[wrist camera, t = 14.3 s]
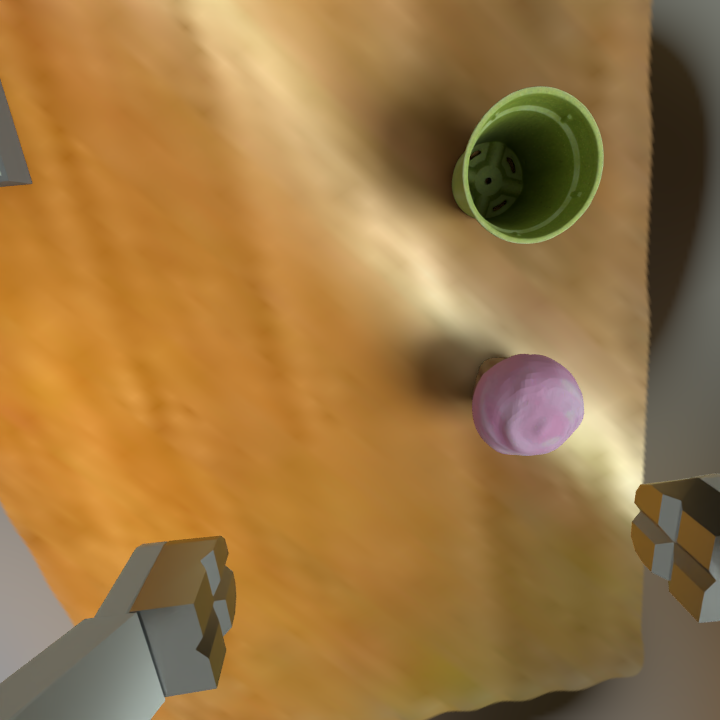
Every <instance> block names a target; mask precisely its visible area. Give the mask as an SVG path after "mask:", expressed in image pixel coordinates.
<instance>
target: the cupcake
mask: <svg viewBox="0 0 720 720" xmlns="http://www.w3.org/2000/svg"><path fill="white" fill-rule="evenodd" d="M472 400H473V401H472V412H473V420H474V424H475V427H476V429H477V431H478V433H479V435H480V436H481V438H482V439H483V440H484V441H485V442H486V443H487V444H488V445H489V446H490V447H492V448H493V449H494V450H496V451H498V452H500V453H503V454H511V455H524V456H529V455H540V454H545V453H549V452H551V451H553V450H555V449H556V448H558V447H559V446H560V445H562V444H563V443H564V442H565V441H566V440H567V439H568V438H569V437H570V436H571V434H572V433H573V432H574V431H575V430H576V429H577V428H578V426H579V425H580V423H581V422H582V419H583V415H584V403H583V396H582V393H581V391H580V389H579V386H578V384H577V382H576V380H575V378H574V377H573V376H572V374H571V373H570V372H569V371H568V370H567V369H566V368H565V367H563V366H562V365H561V364H559V363H557V362H556V361H554V360H552V359H551V358H548V357H546V356H542V355H535V354H534V355H529V354H519V355H514V356H511V357H509V358H491V359H488V360H486V361H485V362H483V363H482V365H481V366H480V368H479V372H478V375H477V378H476V382H475V385H474V388H473V396H472Z"/></svg>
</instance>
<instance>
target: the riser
mask: <svg viewBox="0 0 720 720" xmlns="http://www.w3.org/2000/svg"><path fill="white" fill-rule="evenodd" d="M25 184H32V181H31V177H30V174H29V171H28V168H27V164H26V161H25V158H24V155H23V152H22V148H21V145H20V142H19V139H18V135H17V132H16V129H15V126H14V122H13V119H12V116H11V113H10V110H9V106H8V103H7V100H6V97H5V93H4V90H3V87H2V84H1V80H0V187H4V186H14V185H25Z"/></svg>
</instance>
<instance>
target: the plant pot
mask: <svg viewBox="0 0 720 720" xmlns="http://www.w3.org/2000/svg"><path fill="white" fill-rule="evenodd" d="M477 150H478V151H481V154H479V155H477V156H475V157H474V158H473V159H471V160H470V161H469V159H470V155H471V154H473V153H474V152H475V151H477ZM603 155H604V154H603V144H602V139H601V135H600V132H599V129H598V127H597V124H596V122H595V120H594V118H593V117H592V115H591V113H590V112H589V111H588V109H587V108H586V107H585V106H584V105H583V104H582V103H581V102H580V101H578V100H577V99H576V98H575V97H573V96H572V95H570V94H568V93H566V92H564V91H561V90H559V89H556V88H551V87H542V86H538V87H530V88H525V89H521V90H518V91H516V92H514V93H512V94H510V95H508V96H506V97H504V98H503V99H501V100H500V101H499V102H497V103H496V104H495V105H494V106H493V107H491V108H490V109H489V110H488V111H487V112H486V114H485V115H484V116H483V117H482V118H481V120H480V121H479V123H478V124H477V126H476V127H475V129H474V131H473V132H472V134H471V137H470V139H469V141H468V144H467V147H466V150H465V152H464V153H463V154H462V155H461V157H460V158H459V160H458V161H457V163H456V166H455V169H454V172H453V177H452V192H453V195H454V198H455V201H456V203H457V204H458V206H459V207H460V208H461V209H462V211H463V212H465V213H466V214H467V215H469V216H471V217H473V218H476V220H477V221H478V222H479V223H480V224H481V225H482V226H483V227H484V228H485V229H486V230H487V231H489V232H490V233H491V234H493V235H495V236H496V237H498V238H501V239H503V240H506V241H509V242H513V243H520V244H530V243H537V242H542V241H545V240H548V239H551V238H553V237H555V236H557V235H559V234H560V233H562V232H563V231H565V230H566V229H568V228H569V227H570V226H572V225H573V224H574V223H575V222H576V221H577V220H578V219H579V218H580V217H581V216H582V214H583V213H584V212H585V211H586V209H587V208H588V207H589V205H590V203H591V201H592V199H593V197H594V195H595V193H596V191H597V189H598V186H599V183H600V179H601V175H602V170H603ZM507 157H509V158H511V159H512V161H513V163H514V165H515V173H512V171H511V168H510V165H509V163H508V162H507V160H506V159H507ZM487 178H491V183H489V184H486V183H485V180H486V179H487ZM504 200H506V204H505V205H504V206H502V207H501V208H500V209H499V210H497V211H493V210H492V209H493V208H494V207H496V206H497V205H499V204H500V203H502V202H503V201H504Z"/></svg>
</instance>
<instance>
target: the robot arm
mask: <svg viewBox="0 0 720 720" xmlns="http://www.w3.org/2000/svg"><path fill="white" fill-rule="evenodd" d="M634 503H635V504H636V505H637V507H638V508H639V509H640V513H639V514H638V515H637V516H636V517H635V519H634V520H633V521H632V529H631V538H632V541H633V545H634V548H635V551H636V553H637V554H638V556H639V558H640V559H641V561H642V562H643V563H644V565H645V566H646V567H647V568H648V569H649V570H650V571H651V572H652V573H654V574H656V575H658V576H660V577H662V578H664V579H666V580H668V583H669V592H670V593H671V594H672V595H673V596H674V597H675V598H676V599H677V600H678V601H679V602H680V603H681V605H682V606H683V607H684V608H685V609H686V610H687V611H688V612H689V613H690V614H691V615H692V616H693V617H694V618H695V620H696V621H697V622H698V623H702V622H712V621H720V474H709V475H703V476H696V477H691V478H689V479H680V480H672V481H664V482H656V483H649V484H641V485H640V486H639V488H638V489H637V491H636V495H635V502H634ZM227 557H228V549H227V545H226V541H225V539H224V538H223V537H222V536H213V537H203V538H193V539H183V540H173V541H169V542H156V543H148V544H142V545H140V546H139V547H137V548H136V549H135V550H134V552H133V554H132V555H131V557H130V559H129V560H128V562H127V564H126V565H125V567H124V569H123V570H122V572H121V574H120V575H119V577H118V579H117V580H116V582H115V584H114V585H113V587H112V589H111V590H110V592H109V594H108V595H107V597H106V599H105V600H104V602H103V604H102V605H101V607H100V608H99V610H98V612H97V613H96V615H95V617H94V618H89V619H84V620H83V621H82V622H80V623H79V624H78V625H76V626H75V627H74V628H72V629H71V630H70V631H68V632H67V633H66V634H65V635H63V636H62V637H61V638H59V639H58V640H57V641H55V642H54V643H53V644H51V645H50V646H49V647H48V648H46V649H45V650H44V651H42V652H41V653H40V654H38V655H37V656H36V657H35V658H33V659H32V660H31V661H29V662H28V663H27V664H25V665H24V666H23V667H21V668H20V669H19V670H17V671H16V672H15V673H14V674H12V675H11V676H10V677H8V678H7V679H6V680H4V681H3V682H2V683H0V720H150V719H151V718H152V717H153V715H154V714H155V713H156V712H157V710H158V709H159V708H160V706H161V705H162V704H163V703H164V701H165V698H164V697H168V696H174V695H180V694H186V693H192V692H198V691H204V690H210V689H216V688H217V686H218V681H219V677H220V673H221V669H222V665H223V661H224V657H225V653H226V647H225V643H224V639H223V636H224V635H225V634H226V633H227V632H228V631H229V630H230V628H231V627H232V624H233V620H234V615H235V607H236V586H235V579H234V574H233V572H232V571H231V570H230V569H229V568H228V567H226V566H225V564H226V560H227Z"/></svg>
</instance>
